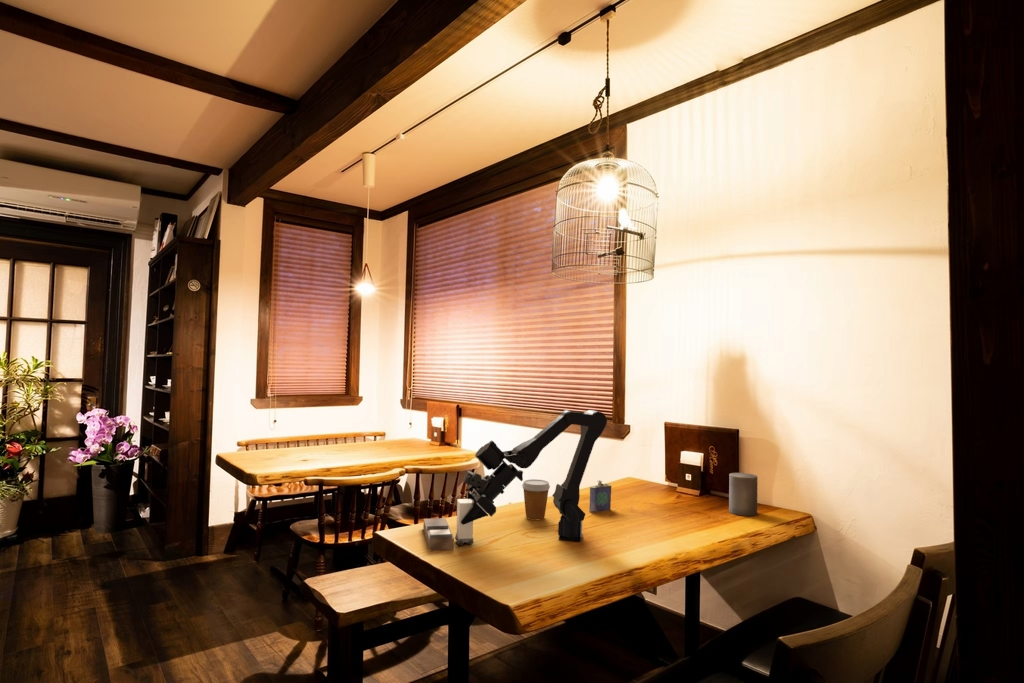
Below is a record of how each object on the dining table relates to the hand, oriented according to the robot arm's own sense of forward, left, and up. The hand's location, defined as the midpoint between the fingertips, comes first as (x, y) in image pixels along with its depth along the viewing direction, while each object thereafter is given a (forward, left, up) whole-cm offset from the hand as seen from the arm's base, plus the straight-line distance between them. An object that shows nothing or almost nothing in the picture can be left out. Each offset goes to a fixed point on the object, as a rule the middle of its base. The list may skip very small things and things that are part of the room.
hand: (460, 520), depth 165 cm
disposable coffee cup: (-15, -34, -7) cm, 38 cm away
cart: (-1, -1, -7) cm, 7 cm away
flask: (-35, -51, -7) cm, 62 cm away
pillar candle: (-85, -67, -7) cm, 108 cm away
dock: (+7, -2, -7) cm, 10 cm away
